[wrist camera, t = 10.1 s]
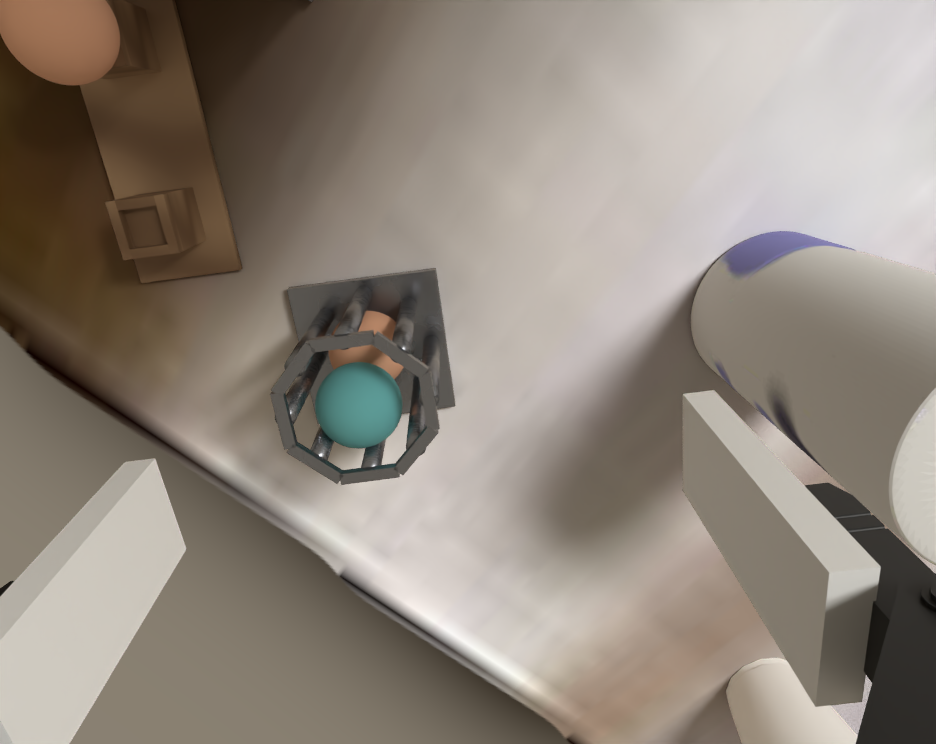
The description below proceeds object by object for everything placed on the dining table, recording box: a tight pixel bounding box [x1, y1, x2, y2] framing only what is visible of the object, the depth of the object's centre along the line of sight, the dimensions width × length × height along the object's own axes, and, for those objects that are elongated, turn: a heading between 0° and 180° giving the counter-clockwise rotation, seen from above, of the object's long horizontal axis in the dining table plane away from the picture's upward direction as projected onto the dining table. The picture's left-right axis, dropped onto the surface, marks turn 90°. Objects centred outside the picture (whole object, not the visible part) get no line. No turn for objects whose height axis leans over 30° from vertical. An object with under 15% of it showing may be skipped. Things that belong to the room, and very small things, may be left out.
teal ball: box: [315, 362, 403, 448], centre depth 35 cm, size 5×5×5 cm
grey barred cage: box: [270, 268, 455, 485], centre depth 37 cm, size 9×9×10 cm
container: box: [691, 231, 936, 565], centre depth 32 cm, size 10×10×20 cm
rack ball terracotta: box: [0, 0, 120, 85], centre depth 29 cm, size 5×5×5 cm
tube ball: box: [329, 311, 404, 379], centre depth 38 cm, size 5×5×5 cm
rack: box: [80, 0, 242, 283], centre depth 34 cm, size 16×6×5 cm, turn 7°
